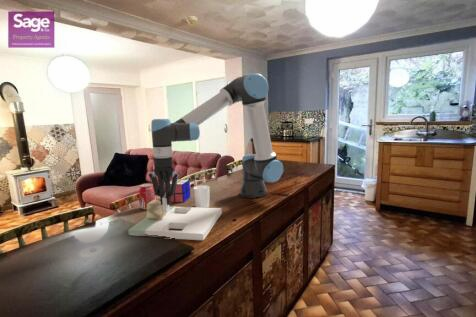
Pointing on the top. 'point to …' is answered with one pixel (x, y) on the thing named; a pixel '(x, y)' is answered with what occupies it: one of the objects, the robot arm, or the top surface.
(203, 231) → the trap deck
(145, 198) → the soda can
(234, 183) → the top surface
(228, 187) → the top surface
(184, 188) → the puzzle cube
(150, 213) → the maple block
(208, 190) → the white cup
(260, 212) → the top surface
